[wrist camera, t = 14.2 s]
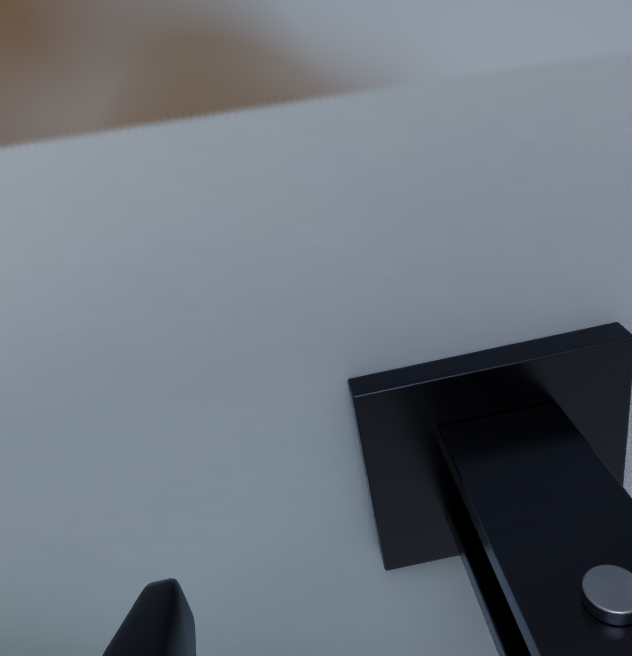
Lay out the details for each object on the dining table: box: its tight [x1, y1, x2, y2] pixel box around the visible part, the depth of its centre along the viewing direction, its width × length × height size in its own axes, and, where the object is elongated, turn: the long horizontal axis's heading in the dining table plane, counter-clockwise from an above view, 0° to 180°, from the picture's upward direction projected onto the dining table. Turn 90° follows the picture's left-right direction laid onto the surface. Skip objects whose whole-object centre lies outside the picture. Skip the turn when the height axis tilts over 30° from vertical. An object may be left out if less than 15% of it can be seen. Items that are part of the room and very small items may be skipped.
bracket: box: [348, 322, 632, 656], centre depth 19 cm, size 10×9×11 cm
